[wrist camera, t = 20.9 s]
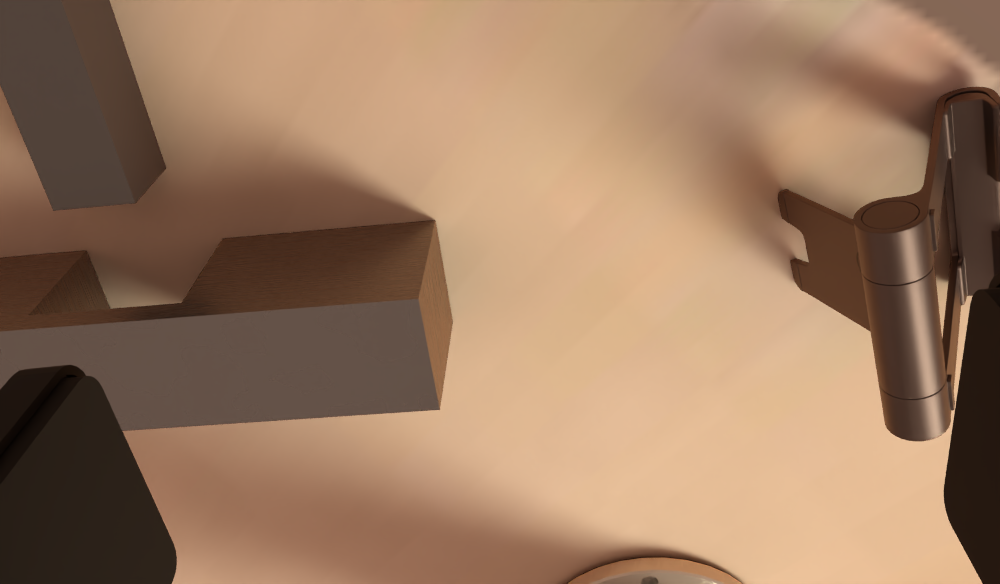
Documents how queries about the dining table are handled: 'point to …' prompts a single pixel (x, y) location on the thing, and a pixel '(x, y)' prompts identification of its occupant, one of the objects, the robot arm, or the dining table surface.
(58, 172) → the dark grey long bar
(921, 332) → the portable electronic device stand
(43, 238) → the dining table surface
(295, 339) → the grey bridge bar
